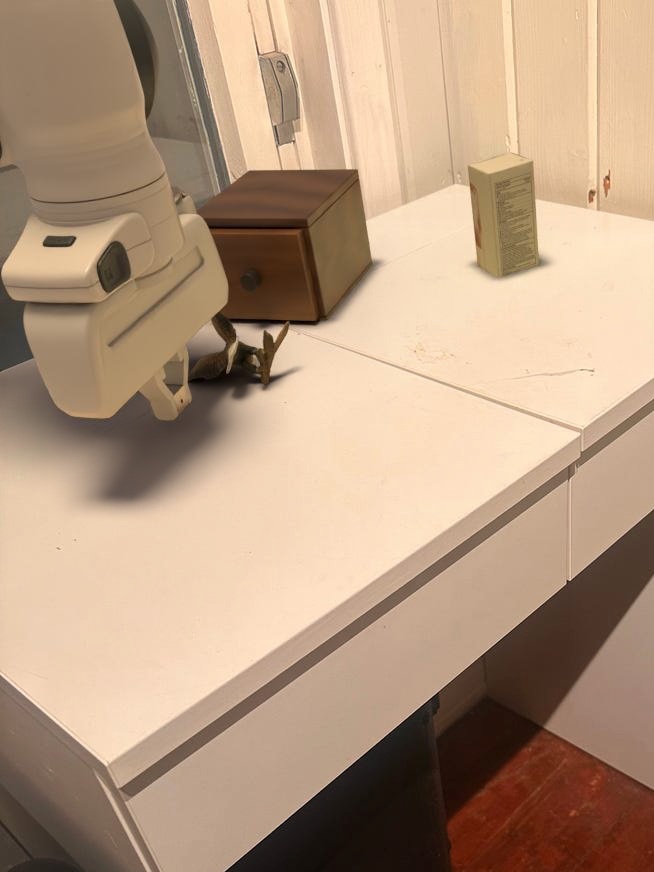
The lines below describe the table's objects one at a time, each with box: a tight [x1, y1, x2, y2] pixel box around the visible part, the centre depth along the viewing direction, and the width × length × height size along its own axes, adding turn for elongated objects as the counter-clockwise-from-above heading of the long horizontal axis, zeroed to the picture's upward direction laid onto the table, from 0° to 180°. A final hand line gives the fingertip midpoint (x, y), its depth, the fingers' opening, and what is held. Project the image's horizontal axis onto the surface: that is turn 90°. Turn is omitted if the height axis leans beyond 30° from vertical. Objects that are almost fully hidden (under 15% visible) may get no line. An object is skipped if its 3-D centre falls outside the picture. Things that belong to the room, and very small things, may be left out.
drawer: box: [209, 227, 319, 322], centre depth 86 cm, size 14×10×8 cm
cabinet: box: [196, 168, 373, 321], centre depth 88 cm, size 14×12×10 cm
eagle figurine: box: [187, 312, 291, 386], centre depth 77 cm, size 8×7×9 cm
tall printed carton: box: [467, 151, 540, 278], centre depth 88 cm, size 5×4×10 cm
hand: (175, 411), depth 71 cm, fingers closed
